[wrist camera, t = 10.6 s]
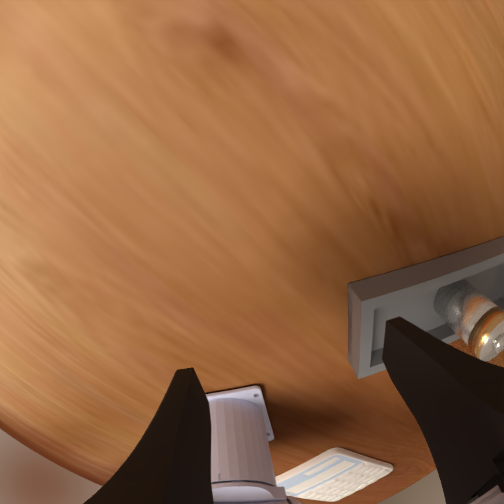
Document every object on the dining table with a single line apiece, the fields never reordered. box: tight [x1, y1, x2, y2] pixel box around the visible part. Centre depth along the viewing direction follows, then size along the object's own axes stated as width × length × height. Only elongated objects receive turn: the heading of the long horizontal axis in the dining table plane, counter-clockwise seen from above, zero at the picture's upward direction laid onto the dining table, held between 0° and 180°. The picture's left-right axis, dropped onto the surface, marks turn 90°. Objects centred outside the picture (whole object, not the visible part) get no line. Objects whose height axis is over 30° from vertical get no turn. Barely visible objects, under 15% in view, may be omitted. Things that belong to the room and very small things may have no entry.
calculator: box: [275, 447, 393, 502], centre depth 36 cm, size 13×20×2 cm, turn 45°
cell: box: [434, 279, 504, 362], centre depth 19 cm, size 4×4×8 cm
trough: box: [348, 236, 504, 379], centre depth 23 cm, size 8×20×2 cm, turn 101°
